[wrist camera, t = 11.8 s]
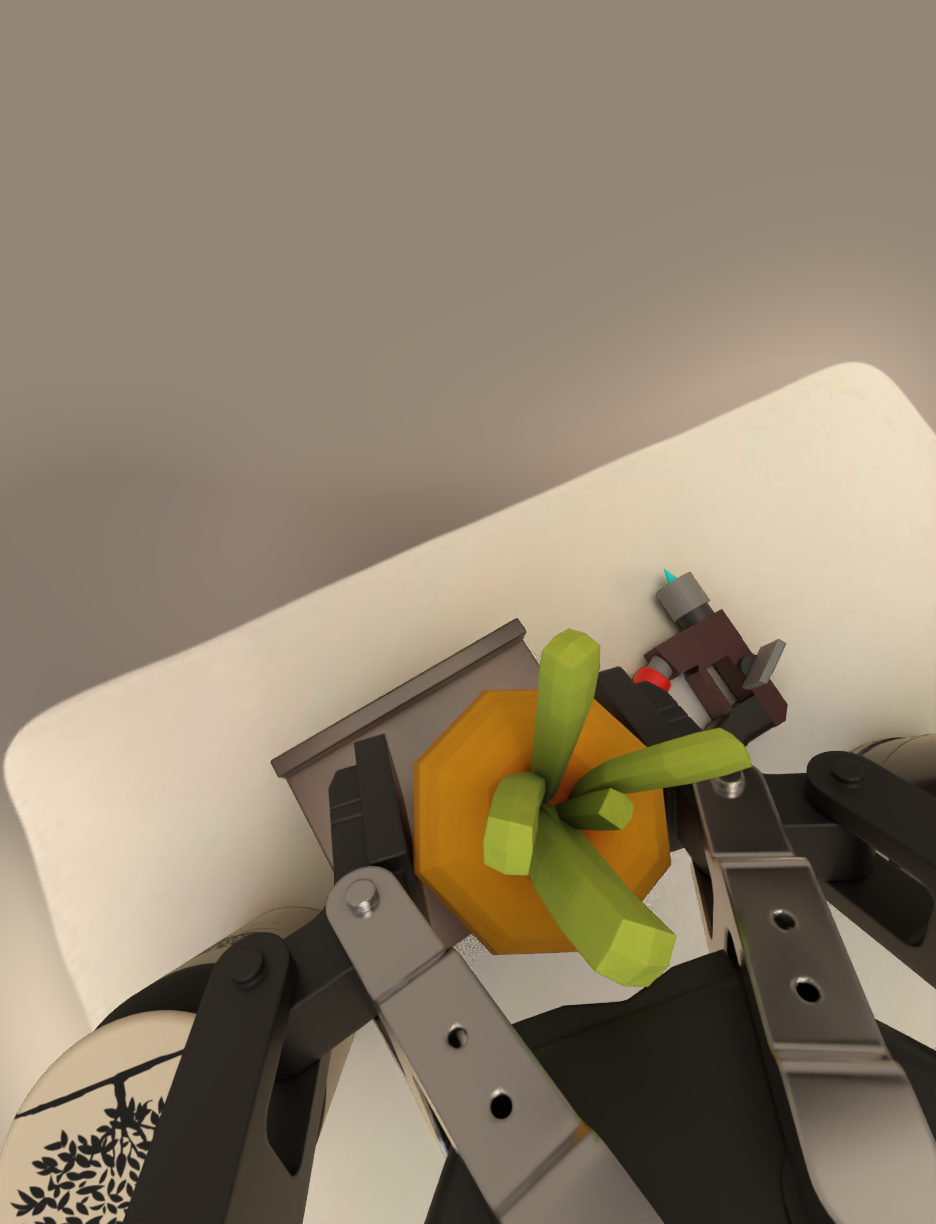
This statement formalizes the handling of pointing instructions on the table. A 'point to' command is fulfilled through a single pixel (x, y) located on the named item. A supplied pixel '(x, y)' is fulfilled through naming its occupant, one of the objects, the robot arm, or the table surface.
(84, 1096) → the travel mug
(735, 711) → the toy gun
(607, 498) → the table surface
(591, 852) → the carrot
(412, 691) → the shelf
